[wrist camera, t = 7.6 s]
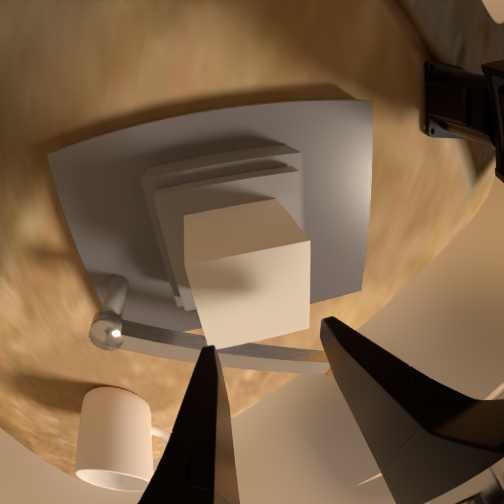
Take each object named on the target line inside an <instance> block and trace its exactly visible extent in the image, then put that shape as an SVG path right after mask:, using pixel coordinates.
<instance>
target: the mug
mask: <svg viewBox="0 0 504 504" xmlns="http://www.w3.org/2000/svg"><path fill="white" fill-rule="evenodd" d="M151 435H153V436H156V437H159V438H160V439H162V440H163V441H164V442H165V444H166V445H167V443H168V440H169V437H170V435H171V434H170V433H169V432H167V431H166V430H165V429H163V428H161V427H159V426H157V425H154V424H151V413H150V408H149V406H148V404H147V403H146V402H145V401H144V400H143V399H142V398H141V397H139V396H138V395H136V394H134V393H132V392H130V391H127V390H124V389H120V388H115V387H99V388H95V389H92V390H90V391H89V392H88V393H87V394H86V395H85V397H84V399H83V403H82V409H81V416H80V424H79V432H78V441H77V451H76V463H75V474H76V476H77V477H79V478H80V479H82V480H84V481H86V482H88V483H91V484H93V485H97V486H100V487H103V488H108V489H113V490H119V491H145V489H146V487H147V486H148V484H149V482H150V480H151V478H152V476H153V474H154V472H155V470H156V468H154V467H153V463H152V437H151Z"/></svg>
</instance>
